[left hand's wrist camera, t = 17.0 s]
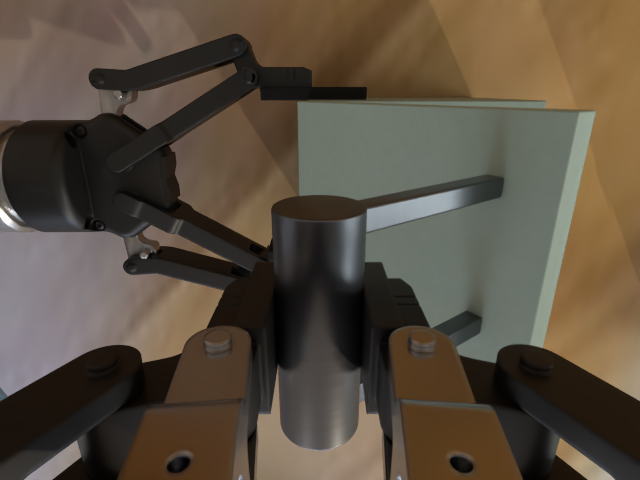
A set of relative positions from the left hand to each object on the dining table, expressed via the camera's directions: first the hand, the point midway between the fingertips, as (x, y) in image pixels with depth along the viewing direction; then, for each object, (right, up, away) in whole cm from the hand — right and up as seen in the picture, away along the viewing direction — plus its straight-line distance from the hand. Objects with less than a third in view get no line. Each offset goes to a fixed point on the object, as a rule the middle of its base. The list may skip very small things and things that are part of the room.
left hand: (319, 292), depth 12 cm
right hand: (+3, +6, +16) cm, 18 cm away
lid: (+4, +3, +7) cm, 8 cm away
